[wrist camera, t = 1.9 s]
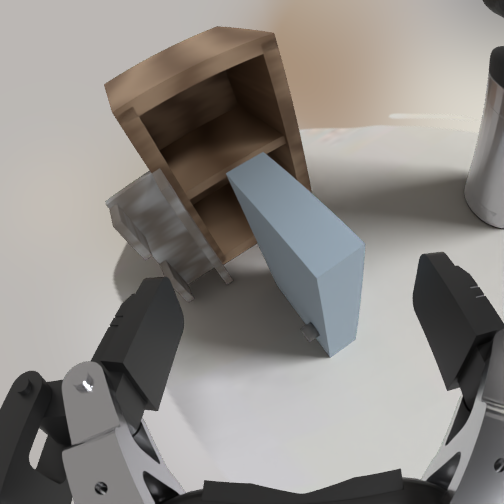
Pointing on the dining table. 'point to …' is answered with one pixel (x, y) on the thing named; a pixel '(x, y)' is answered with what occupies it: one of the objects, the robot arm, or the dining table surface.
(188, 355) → the dining table surface
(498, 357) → the robot arm
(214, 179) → the cabinet
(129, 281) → the dining table surface
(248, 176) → the door
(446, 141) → the dining table surface
